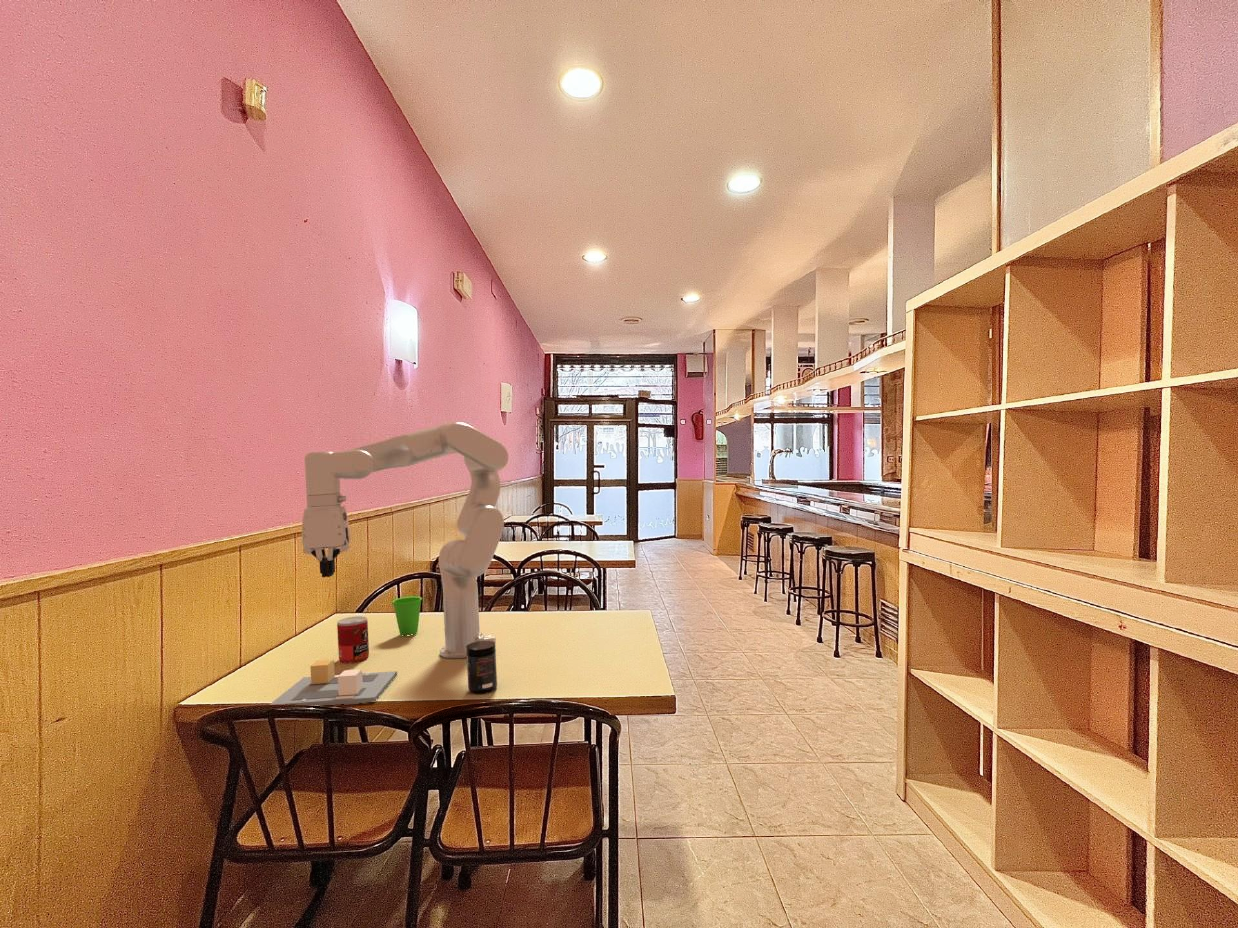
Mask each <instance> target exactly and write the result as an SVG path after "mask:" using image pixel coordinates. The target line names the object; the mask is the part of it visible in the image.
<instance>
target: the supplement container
mask: <svg viewBox="0 0 1238 928" xmlns="http://www.w3.org/2000/svg"><path fill="white" fill-rule="evenodd" d="M496 646H497V645H496V643H495V642H492V641H478V642H473V643H470V644H468V645H467V646H466V654H467V657H466V665H467V666H466V667H467V668H466V669H467V671H466V672H467V689H468V691H469V692H470V693H471V694H474V695H483V694H489V693H492V692H493V691H495V690H496V688H497V686H498V677H497V676H498V675H497V649H496V648H497V647H496Z"/></svg>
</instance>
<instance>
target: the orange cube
mask: <svg viewBox="0 0 1238 928" xmlns="http://www.w3.org/2000/svg"><path fill="white" fill-rule="evenodd" d="M335 673H336V672H335V659H323V660H321V659H320V660H316V661H315V662H314V663H313V664H311V665H310V677H311V684H322V683H329V682H330V681H331V680H332V679H333V678H335V675H336V674H335Z"/></svg>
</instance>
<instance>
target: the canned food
mask: <svg viewBox="0 0 1238 928" xmlns="http://www.w3.org/2000/svg"><path fill="white" fill-rule="evenodd" d="M336 629H337V646H338V647H337V648H338V651H337V652H338V659H339V662H340V663H341V664H355V662H356V663H359V662H358V661H360V662H363V661H365V660H367V659H368V658H369V657H370V645H369V623H368V617H367V616H360V615H359V616H349V617H345V618H341V619H339V620H337V624H336Z"/></svg>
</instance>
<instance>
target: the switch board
mask: <svg viewBox="0 0 1238 928" xmlns="http://www.w3.org/2000/svg"><path fill="white" fill-rule="evenodd" d="M339 675H340V674H337V675H336V674H335V678H333V679H332V680H331V681H330V682H329V683H322V684H311V676H308V677H305V676H304V677H302V678H301V679H299V680H298V681H297V682H296V683H295V684H293V685H292V686H291V687H290V688H288V689H287V690H286V691H284V692H283V693H282V694H281V695H280V696H278V697H277V698H276V699H274V700H273V701H272V702H271V703H269V705H285V704H288V705H289V704H296V705H334V706H336V705H335V704H344V705H343V706H345V705H346V706H347V705H359V703H362V704H368V703H367V702H372V701H376V699H378V698H380V697H381V696H382V695H383V694H382V692H383V693H385V691H386V690H387V689H388V688H389V686H390V685H391V684H392V683H391V681H393V682H394V680H395V679H396V678H397V677H398V670H395V671H380V672H364V673H363V672H362V681H363V688H362V689H361V690H360V691H359V693H358V694H356V695H342V696H339V692H338V676H339ZM396 676H397V677H396ZM395 677H396V678H395ZM394 678H395V679H394ZM393 679H394V680H393ZM390 683H391V684H390ZM389 684H390V685H389ZM388 685H389V686H388ZM387 687H388V688H387ZM386 688H387V689H386ZM385 689H386V690H385ZM384 690H385V691H384ZM381 694H382V695H381ZM380 695H381V696H380ZM379 696H380V697H379ZM378 700H379V699H378ZM376 702H377V701H376Z"/></svg>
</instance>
